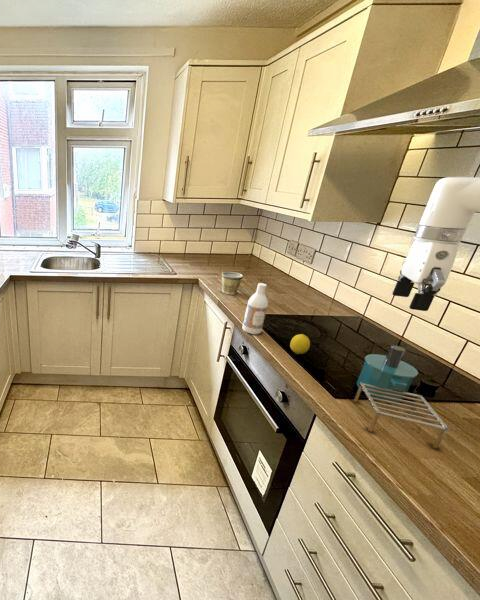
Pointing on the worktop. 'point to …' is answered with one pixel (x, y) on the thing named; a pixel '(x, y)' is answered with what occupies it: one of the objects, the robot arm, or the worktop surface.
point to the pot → (383, 382)
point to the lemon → (300, 344)
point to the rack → (411, 412)
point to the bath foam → (256, 311)
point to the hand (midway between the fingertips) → (408, 302)
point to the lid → (392, 363)
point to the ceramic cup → (231, 282)
